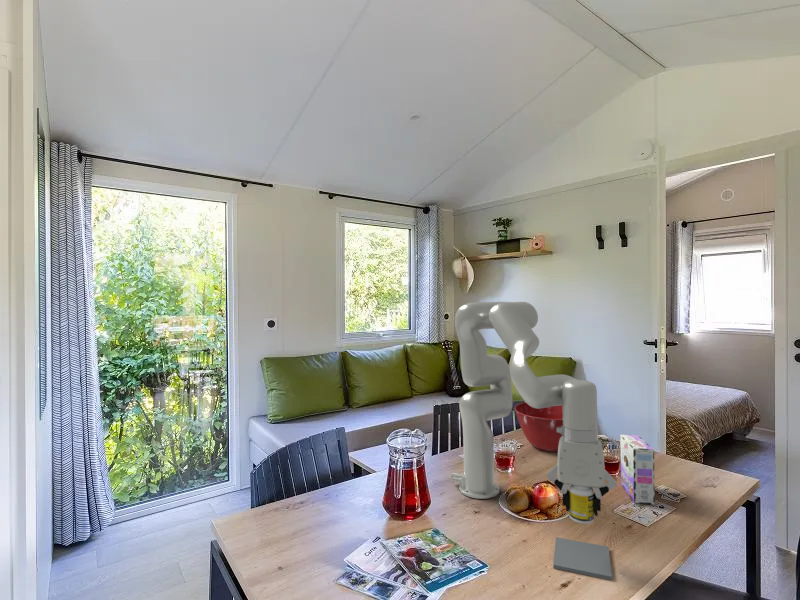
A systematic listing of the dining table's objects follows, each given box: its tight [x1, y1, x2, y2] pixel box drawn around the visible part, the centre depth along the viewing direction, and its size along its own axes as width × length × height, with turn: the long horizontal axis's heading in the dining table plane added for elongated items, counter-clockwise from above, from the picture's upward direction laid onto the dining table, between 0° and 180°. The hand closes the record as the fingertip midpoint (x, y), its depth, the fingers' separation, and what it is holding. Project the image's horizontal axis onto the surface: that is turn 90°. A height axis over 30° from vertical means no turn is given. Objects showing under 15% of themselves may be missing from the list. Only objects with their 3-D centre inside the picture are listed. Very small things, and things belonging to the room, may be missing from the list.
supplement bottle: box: [568, 484, 595, 525], centre depth 102 cm, size 5×5×10 cm
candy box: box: [619, 434, 656, 506], centre depth 134 cm, size 14×6×16 cm, turn 168°
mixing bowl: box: [514, 401, 563, 453], centre depth 176 cm, size 28×28×16 cm
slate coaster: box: [552, 536, 613, 581], centre depth 102 cm, size 12×12×1 cm
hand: (581, 510), depth 102 cm, fingers closed on supplement bottle, 5 cm apart
